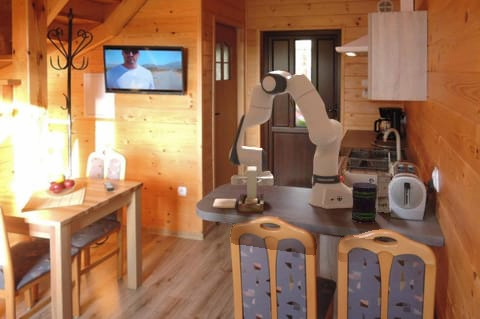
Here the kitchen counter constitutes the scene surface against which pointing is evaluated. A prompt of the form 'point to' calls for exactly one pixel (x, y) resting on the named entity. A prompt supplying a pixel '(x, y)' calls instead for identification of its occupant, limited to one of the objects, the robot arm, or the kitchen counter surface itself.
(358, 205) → the storage jar
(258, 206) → the offcut rack
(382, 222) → the kitchen counter surface
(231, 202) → the pad
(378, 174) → the coffee box
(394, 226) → the kitchen counter surface
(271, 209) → the kitchen counter surface
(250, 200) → the offcut stack
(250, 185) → the tall board
